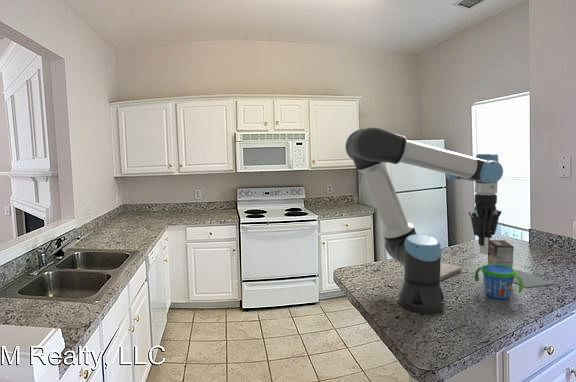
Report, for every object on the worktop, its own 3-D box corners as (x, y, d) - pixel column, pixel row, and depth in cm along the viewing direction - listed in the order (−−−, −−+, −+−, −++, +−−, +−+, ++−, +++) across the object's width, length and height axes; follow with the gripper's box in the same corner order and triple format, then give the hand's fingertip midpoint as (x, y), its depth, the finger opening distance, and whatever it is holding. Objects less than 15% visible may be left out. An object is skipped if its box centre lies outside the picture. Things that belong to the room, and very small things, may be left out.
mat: (526, 287, 136) (526, 287, 136) (493, 273, 151) (493, 273, 151) (554, 284, 138) (554, 283, 138) (519, 270, 154) (519, 270, 154)
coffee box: (486, 277, 147) (487, 239, 146) (503, 278, 146) (504, 239, 144) (494, 285, 138) (496, 245, 137) (512, 286, 137) (514, 246, 135)
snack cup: (468, 291, 134) (469, 265, 132) (484, 285, 139) (485, 260, 138) (512, 307, 120) (513, 278, 119) (528, 299, 126) (529, 271, 124)
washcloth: (463, 272, 156) (463, 265, 155) (441, 282, 145) (441, 275, 144) (437, 265, 165) (437, 259, 165) (415, 274, 154) (415, 268, 154)
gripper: (478, 195, 132) (476, 257, 134) (508, 193, 134) (505, 254, 137) (464, 193, 139) (462, 252, 142) (492, 191, 142) (490, 249, 144)
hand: (483, 253), depth 139 cm, fingers closed
